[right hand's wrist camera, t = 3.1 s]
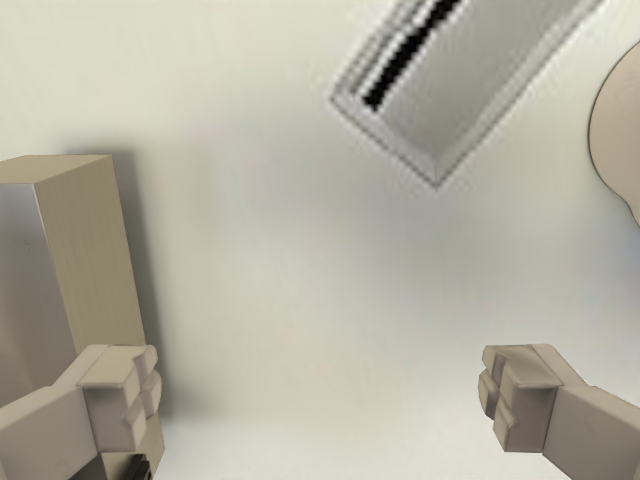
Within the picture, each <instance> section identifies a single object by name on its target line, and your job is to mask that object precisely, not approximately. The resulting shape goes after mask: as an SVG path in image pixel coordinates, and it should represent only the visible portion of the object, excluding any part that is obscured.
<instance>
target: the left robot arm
mask: <svg viewBox="0 0 640 480" xmlns="http://www.w3.org/2000/svg"><path fill="white" fill-rule="evenodd" d="M124 480H152V472H151V467H150V461H147V458H146V454H136V455H135V457H134V459H133V461H132V463H131V465H130V467H129V469H128V471H127V473H126V475H125V477H124Z"/></svg>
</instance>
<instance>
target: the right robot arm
mask: <svg viewBox="0 0 640 480" xmlns="http://www.w3.org/2000/svg"><path fill="white" fill-rule="evenodd" d="M589 141H590V151H591V156H592V159H593V162H594V165H595V168H596V170H597V172H598V174H599V175H600V177H601V178H602V180H603V181H604V182H605V183H606V184H607V186H608V187H609V188H611V189H612V190H613V191H614V192H615V193H617V194H618V195H619V196H621V197H622V198H623V199H624V200H625V201H626V202H627V203H628V204H629V206H630V209H631V211H632V214H633V216H634V218H635V220H636V222H637V223H638V225H639V226H640V42H639V43H638V44H637V45H636V46H634V47H633V48H632V49H631V50H630V51H629V52H628V53H627V54H626V55H625V56H624V57H623V58H622V59H621V61H620V62H619V63H618V64H617V65H616V67H615V68H614V69H613V71H612V72H611V74H610V75H609V77H608V78H607V80H606V82H605V83H604V85H603V87H602V89H601V91H600V93H599V95H598V98H597V100H596V103H595V106H594V109H593V113H592V117H591V123H590V134H589ZM157 361H158V357H157V352H156V348H155V347H154V346H153V345H126V344H113V345H111V344H92V345H89V346H87V347H86V348H85V349H84V350H83V352H82V353H81V354H80V355H79V356H78V357H77V358H76V359H75V360H74V362H73V363H72V364H71V365H70V366H69V367H68V368H67V369H66V370H65V371H64V373H63V374H62V375H61V376H60V377H59V378H58V379H57V380H56V381H55V383H54V384H53V385H52V386H44V387H42V388H40V389H38V390H36V391H34V392H32V393H30V394H28V395H26V396H24V397H22V398H20V399H18V400H16V401H14V402H12V403H10V404H8V405H5V406H3V407H1V408H0V480H68V479H69V478H71V477H72V476H73V475H74V474H75V473H77V472H78V471H79V470H80V469H81V468H83V467H84V466H85V465H86V464H87V463H89V462H90V461H91V460H92V459H93V458H95V457H96V456H97V453H114V452H136V450H137V448H138V446H139V444H140V442H141V440H142V438H143V436H144V435H145V433H146V431H147V425H146V420H148V419H149V418H151V417H152V416H153V415H155V413H156V410H157V408H158V406H159V403H160V398H161V394H162V382H161V375H160V374H159V373H158V372H157V371H156V370H155V369H154V366H155V365H156V363H157ZM482 361H483V363H484V365H485V366H486V369H485V370H484V371H483V372H482V373H481V374H480V375H479V384H478V391H479V399H480V403H481V406H482V408H483V411H484V413H485V415H487V416H488V417H489V418H491V419H492V420H494V425H493V431H494V433H495V435H496V436H497V438H498V440H499V442H500V444H501V446H502V448H503V450H504V452H526V453H543V454H542V455H543V456H544V457H546V458H547V459H548V460H549V461H550V462H552V463H553V464H554V465H555V466H556V467H558V468H559V469H560V470H561V471H562V472H564V473H565V474H566V475H567V476H568V477H570V478H571V479H572V480H640V408H638V407H636V406H634V405H632V404H630V403H628V402H626V401H624V400H622V399H620V398H618V397H616V396H614V395H612V394H610V393H608V392H606V391H604V390H602V389H600V388H598V387H596V386H588V385H587V384H586V383H585V381H584V380H583V379H582V378H581V377H580V376H579V375H578V374H577V373H576V372H575V370H574V369H573V368H572V367H571V366H570V365H569V364H568V363H567V362H566V360H565V359H564V358H563V357H562V356H561V355H560V354H559V353H558V352H557V350H556V349H555V348H554V347H553V346H551V345H549V344H528V345H494V346H486V347H485V349H484V351H483V356H482Z"/></svg>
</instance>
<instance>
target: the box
mask: <svg viewBox="0 0 640 480" xmlns="http://www.w3.org/2000/svg"><path fill="white" fill-rule="evenodd" d="M92 344H111V345H113V344H126V345H146V341H145V336H144V330H143V325H142V319H141V314H140V308H139V303H138V297H137V291H136V286H135V280H134V275H133V269H132V264H131V258H130V253H129V247H128V242H127V236H126V230H125V225H124V219H123V214H122V208H121V203H120V197H119V192H118V186H117V180H116V175H115V169H114V164H113V158H112V155H25V156H21V157H17V158H13V159H9V160H6V161H2V162H0V408H1V407H3V406H5V405H8V404H10V403H12V402H14V401H16V400H18V399H20V398H22V397H24V396H26V395H28V394H30V393H32V392H34V391H36V390H38V389H40V388H42V387H44V386H52V385H53V384H54V383H55V381H56V380H57V379H58V378H59V377H60V376H61V375H62V374H63V373H64V371H65V370H66V369H67V368H68V367H69V366H70V365H71V364H72V363H73V362H74V360H75V359H76V358H77V357H78V356H79V355H80V354H81V353H82V352H83V350H84V349H85V348H86V347H87V346H89V345H92ZM146 425H147V431H146V433H145V435H144V436H143V438H142V440H141V442H140V444H139V446H138V448H137V450H136V452H114V453H97V456H96V457H95V458H93V459H92V460H91V461H90V462H89V463H87V464H86V465H85V466H84V467H83V468H81V469H80V470H79V471H78V472H77V473H75V474H74V475H73V476H72V477H71V478H69V479H68V480H124V477H125V475H126V473H127V471H128V469H129V467H130V465H131V463H132V461H133V459H134V457H135V455H136V454H146V458H147V461H150V467H151V472H152V480H153V477H154V475H155V472H156V470H157V467H158V465H159V462H160V460H161V458H162V455H163V453H164V450H165V447H164V441H163V436H162V430H161V425H160V419H159V414H158V408H157V410H156V413H155V415H153V416H152V417H151V418H149V419H148V420H146Z"/></svg>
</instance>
